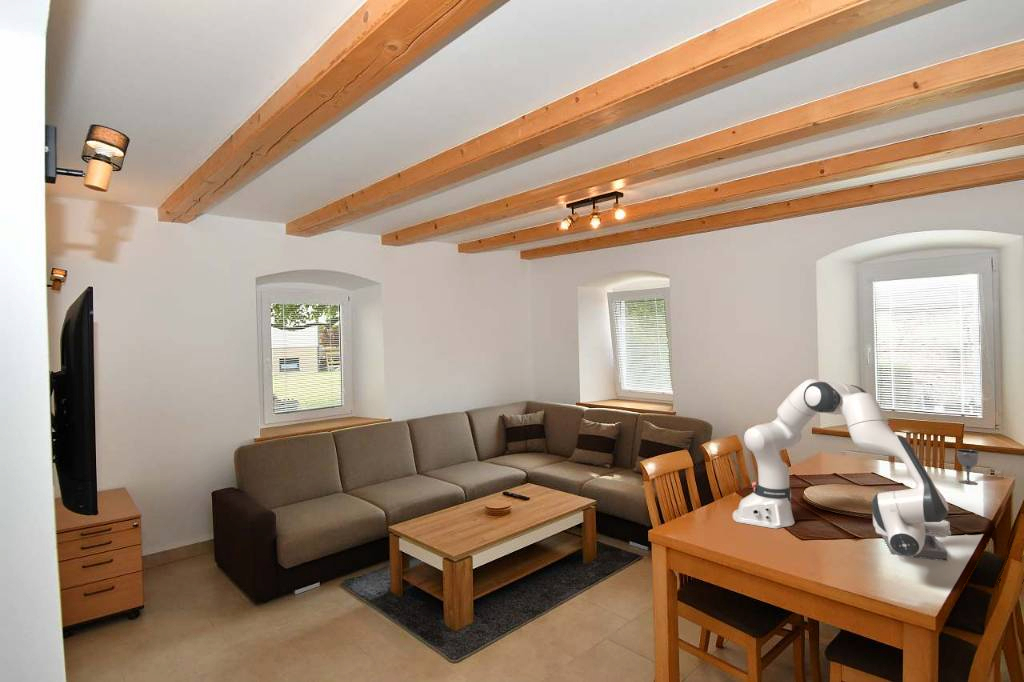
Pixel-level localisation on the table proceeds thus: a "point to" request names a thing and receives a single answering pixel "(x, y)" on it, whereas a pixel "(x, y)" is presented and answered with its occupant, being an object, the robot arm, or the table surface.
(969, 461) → the wine glass
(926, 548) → the tray
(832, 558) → the table surface
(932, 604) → the table surface
